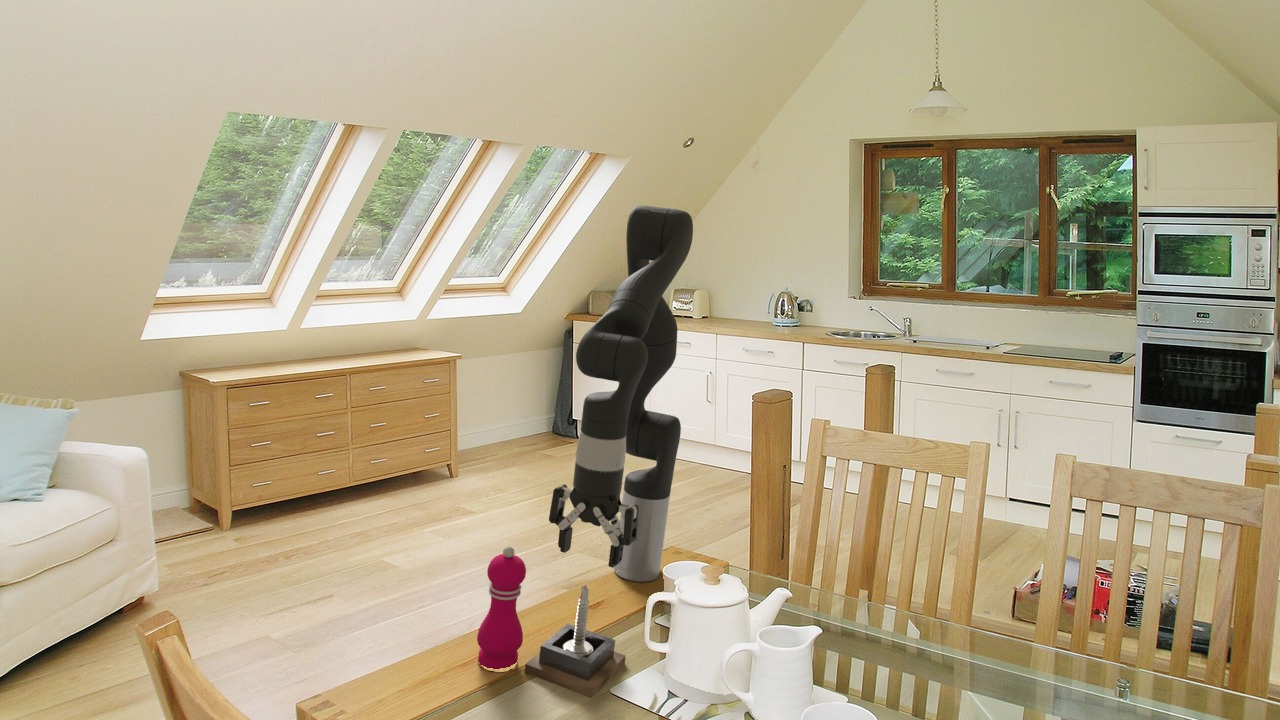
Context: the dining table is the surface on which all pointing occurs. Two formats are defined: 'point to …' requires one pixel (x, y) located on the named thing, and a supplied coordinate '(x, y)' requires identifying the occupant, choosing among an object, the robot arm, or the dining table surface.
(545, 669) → the walnut board
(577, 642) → the screw
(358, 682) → the dining table surface
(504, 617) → the pepper mill
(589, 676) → the socket
